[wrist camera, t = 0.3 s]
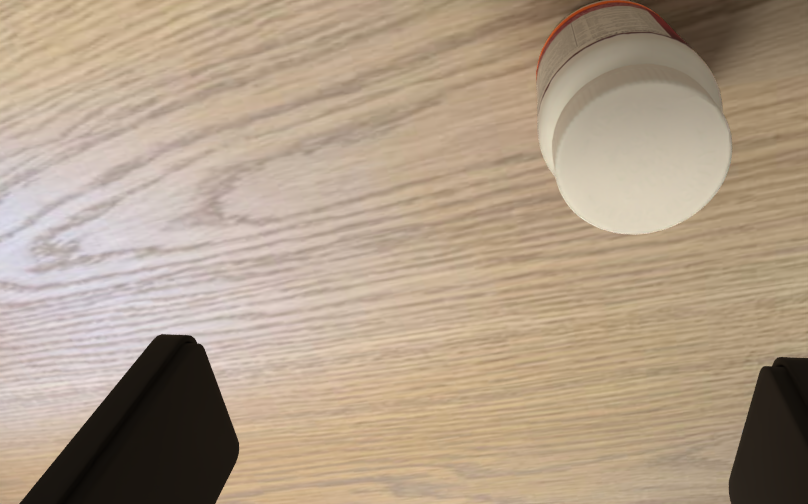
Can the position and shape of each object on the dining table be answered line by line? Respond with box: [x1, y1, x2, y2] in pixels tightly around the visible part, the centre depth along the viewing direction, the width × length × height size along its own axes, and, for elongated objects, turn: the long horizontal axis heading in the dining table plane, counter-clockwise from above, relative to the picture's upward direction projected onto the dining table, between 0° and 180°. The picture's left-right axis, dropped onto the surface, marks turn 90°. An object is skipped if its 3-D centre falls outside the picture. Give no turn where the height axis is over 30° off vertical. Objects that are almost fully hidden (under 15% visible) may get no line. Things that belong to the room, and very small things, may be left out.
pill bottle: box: [536, 0, 732, 234], centre depth 23 cm, size 6×6×11 cm
